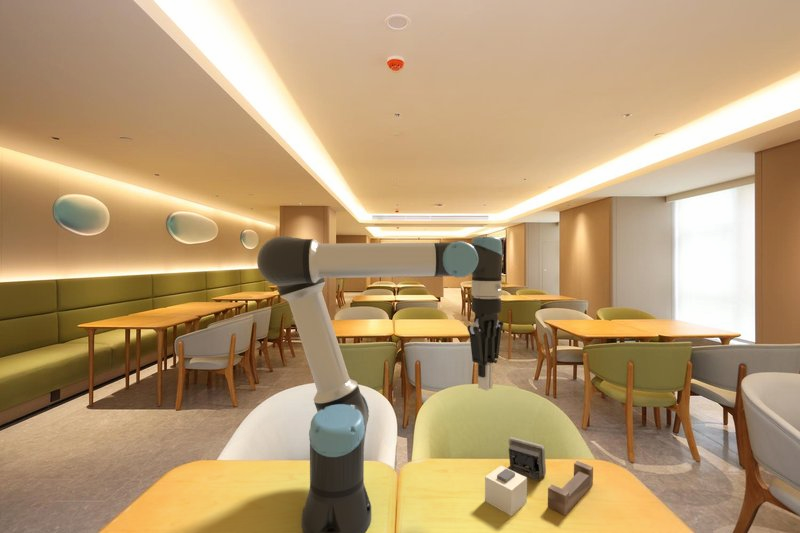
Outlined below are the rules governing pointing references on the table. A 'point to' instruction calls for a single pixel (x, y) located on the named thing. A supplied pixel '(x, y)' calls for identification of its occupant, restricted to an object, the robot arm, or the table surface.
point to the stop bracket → (571, 489)
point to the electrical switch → (527, 458)
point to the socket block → (506, 490)
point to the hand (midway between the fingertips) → (485, 388)
